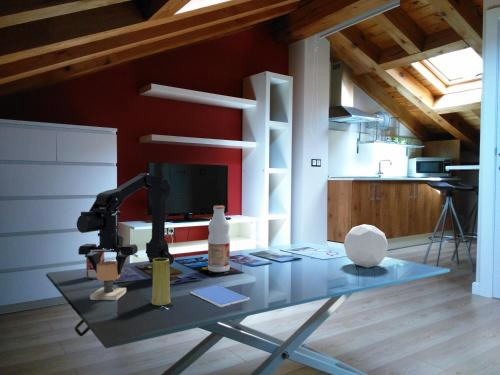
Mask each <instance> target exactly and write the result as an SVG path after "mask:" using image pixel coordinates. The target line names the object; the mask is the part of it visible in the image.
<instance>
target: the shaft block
mask: <svg viewBox="0 0 500 375" xmlns="http://www.w3.org/2000/svg"><path fill="white" fill-rule="evenodd" d="M126 293H127V287H114V280H110V281H103V287H100V288H98V289H97V290H95V291H94V292H92V293H91V294H90V295H89V300H91V301H92V300H93V301H94V300H95V301H99V300H100V301H101V300H102V301H118V300H119V299H120V298H121V297H123V296H124V294H126Z"/></svg>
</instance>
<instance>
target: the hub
mask: <svg viewBox="0 0 500 375" xmlns="http://www.w3.org/2000/svg"><path fill="white" fill-rule="evenodd" d="M119 278H121V274H120V275H118V271H117V260H107V261H105V260H104V262H100V263H98V264H97V279H96V280H99V282H100V281H103V282H104V281H110V280H113V281H114V280H118V279H119Z"/></svg>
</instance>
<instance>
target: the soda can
mask: <svg viewBox="0 0 500 375" xmlns="http://www.w3.org/2000/svg"><path fill="white" fill-rule="evenodd" d="M85 258H86V261H85V262H86V265H85V266H86V267H85V268H86V269H85V270H86V278H88V279H91V280H98V279H97V273H96V272H95V270H94V268H93V266H92V264H91V262H90V261H89V259H88V258H87V257H85ZM100 262H105V252H100V255H99V263H100Z"/></svg>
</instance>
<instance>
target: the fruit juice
mask: <svg viewBox="0 0 500 375" xmlns="http://www.w3.org/2000/svg"><path fill="white" fill-rule="evenodd" d="M212 208H213V216H212V218H211V220H210V221H209V222H208V231H209V234H208V237H207V238H208V240H207V260H208V261H207V262H208V263H207V269H208V271H210V272H212V273H213V272H214V273H222V272H228V271H229V270H230V269H231V268H230V264H231V263H230V260H231V259H230V257H231V255H230V254H231V252H230V250H231V248H230V246H231V244H230V242H231V240H230V239H231V238H230V234H229V230H230V223H229V221H228V220H227V219H226V215H225V208H226V206H225V205H213V206H212Z"/></svg>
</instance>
